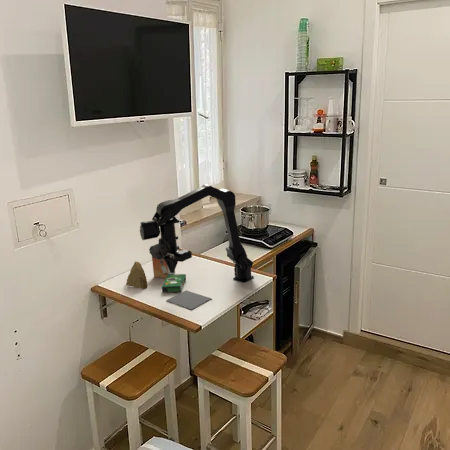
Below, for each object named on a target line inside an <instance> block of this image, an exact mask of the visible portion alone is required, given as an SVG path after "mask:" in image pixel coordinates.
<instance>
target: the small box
mask: <svg viewBox="0 0 450 450" xmlns="http://www.w3.org/2000/svg"><path fill="white" fill-rule="evenodd" d="M151 260H152V261H151V262H152V269H153V270H152V272H153V277H154V278H161V279H164V280H166V278H167V276H168V274H176V270H175V271H174V273H171V272H170V270H169V268H168V266H167V264H166V262H165V260H163V259H159V260H158V259H156V258H153V257H152V256H151Z"/></svg>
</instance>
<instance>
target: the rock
mask: <svg viewBox="0 0 450 450" xmlns="http://www.w3.org/2000/svg"><path fill="white" fill-rule="evenodd" d="M130 269H131V270H130V272H129V274H128V276H127V279H126V283H125V285H128V286H129V287H132V288H137V289H141V290H142V289H143V290H144V289H147V288H148V281H147V280H148V279H147V275H146V274H145V270H144V268H143V266H142V264H141V262H139V261H134V263H133V265H132V267H131V268H130Z"/></svg>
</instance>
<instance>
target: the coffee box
mask: <svg viewBox="0 0 450 450" xmlns="http://www.w3.org/2000/svg"><path fill="white" fill-rule="evenodd" d="M186 280H187V274H186V273H180V274H179V273H175V274H168V276H167V278H166V279H164V281H163V284H162V286H161V291H162V293H182V290H183V288H184V285H185V283H186Z"/></svg>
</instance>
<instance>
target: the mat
mask: <svg viewBox="0 0 450 450" xmlns="http://www.w3.org/2000/svg"><path fill="white" fill-rule="evenodd" d="M211 300H212V297H209V296H205V295H202V294H199V293H196V292H193V291H189V290H187V289H186V290H184V291H181V292H179V293H177V294H176V295H174V296H172V297H170V298H168V299H166V303H167V302H168V303H171V304H173V305H176V306H179V307H182V308H184V309H187V310H189V311H190V310H191V311H193V310H194V309H196V308H198V307H200V306H201V305H203V304H205V303H207V302H209V301H211Z"/></svg>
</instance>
